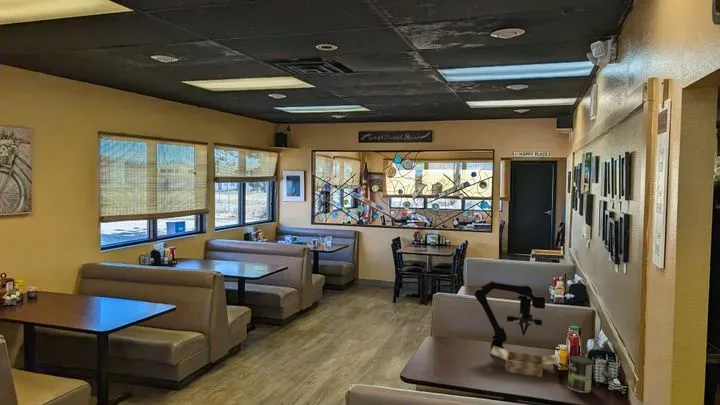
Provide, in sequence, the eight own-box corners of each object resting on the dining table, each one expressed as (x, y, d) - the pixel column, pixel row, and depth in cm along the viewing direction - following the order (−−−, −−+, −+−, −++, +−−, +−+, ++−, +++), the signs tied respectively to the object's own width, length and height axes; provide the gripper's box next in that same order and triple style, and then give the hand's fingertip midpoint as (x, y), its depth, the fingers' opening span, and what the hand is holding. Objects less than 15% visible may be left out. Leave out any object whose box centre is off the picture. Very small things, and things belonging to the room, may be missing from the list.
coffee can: (574, 392, 247) (575, 362, 247) (563, 384, 257) (565, 355, 257) (595, 392, 248) (597, 363, 248) (584, 384, 258) (585, 355, 258)
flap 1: (493, 345, 289) (493, 345, 289) (490, 353, 275) (490, 353, 275) (508, 351, 287) (507, 351, 287) (505, 359, 273) (505, 359, 273)
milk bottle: (579, 361, 293) (581, 325, 293) (580, 366, 286) (582, 329, 285) (564, 359, 296) (566, 324, 295) (565, 363, 288) (567, 327, 288)
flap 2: (559, 363, 264) (559, 363, 264) (559, 354, 278) (559, 355, 278) (542, 364, 266) (542, 365, 266) (543, 356, 280) (543, 356, 280)
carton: (504, 371, 272) (505, 359, 272) (507, 362, 287) (508, 351, 287) (541, 377, 266) (542, 365, 266) (542, 367, 281) (543, 356, 281)
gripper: (506, 308, 292) (505, 336, 292) (542, 312, 285) (540, 341, 286) (508, 304, 302) (506, 331, 303) (542, 308, 296) (541, 336, 296)
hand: (523, 335), depth 297 cm, fingers closed
